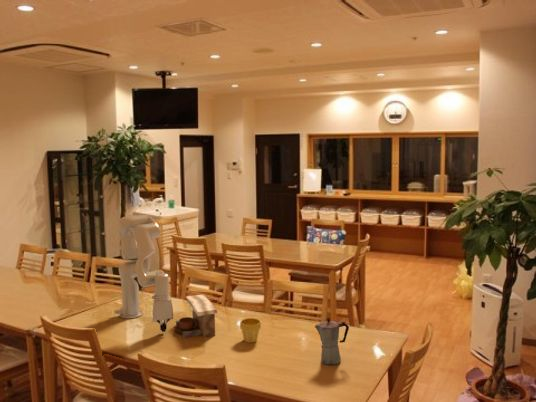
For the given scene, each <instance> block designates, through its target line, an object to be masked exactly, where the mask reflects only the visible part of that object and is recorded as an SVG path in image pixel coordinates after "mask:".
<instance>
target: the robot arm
mask: <svg viewBox="0 0 536 402" xmlns="http://www.w3.org/2000/svg"><path fill="white" fill-rule="evenodd" d="M117 222H118V224H117V226H118V231H119V235H120V251H121V252H120V255H121V257H122V259H123V260H125V262H123V263H120V265H119V267H118V273H119V279H120V283H121V303H122V304H121V305H122V306H121V308H120V309H115V310H114V309H113V310H114V311H113V312H114V314H116V315H118V314H119V316H120V318H122V319H127V320H128V319H129V320H130V319H136V318H139V317H142V316H143V311H142V310H140V291H139V289H140V288H139V286H140V287H143V288H146V287H151V286H153V288H154V294H153V295H151V299H152V300H153V299H154V300H153V303H152V322H153V323H158V324H159V327H160V328H159V329H160V331H161V332H162V333H166V332H167V331H166V330H167V327H168V326H167V324H168V322H169V321H171V320H174V307H173V301H172V298H171V296H170V278H169V274H168V273H166V272H164V271H163V270H162V269H155V270H151V271H150V268H151V265H150V264H151V261H150V257H151V256H152V255H153V254H154V253H155V252H156V248H155V244H154V241H153V239H157V238H160V236H161V233H162V232H161V231H162V230H161V228H160V226H159V224H158V222H156V220H154V218H153V217H151V215H149V214H145V213H144V214H135V215H127V216H123V217H121V218H120V219H118V221H117ZM130 260H131V261H130ZM135 278H136V280H137V281H136V280H135Z"/></svg>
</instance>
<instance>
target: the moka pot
mask: <svg viewBox="0 0 536 402" xmlns="http://www.w3.org/2000/svg"><path fill="white" fill-rule="evenodd" d="M342 327H345V331H344V334H343V338H342V340H339V337H340V336H339V335H340V334H339V333H340V328H342ZM314 328H315V329H316V330H317V332H318V334H319V338H320V342H321V355H320V357H321V359H320V362H321V363H323V364H324V365H326V366H327V365H329V366H333V365H337V364H340V363H341V360H342V358H341V353H340V349H339V342H340V344H341V343H342V344H343V343H345V342H346V339H347V336H348V332H349V329H350V327H349V325H348V324H347V322H345V321H342V322H336V321H333V320H332V321H331V319H330V318H326V321H321V322H319V323H318V324H315V326H314Z"/></svg>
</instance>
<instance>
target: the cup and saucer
mask: <svg viewBox="0 0 536 402" xmlns="http://www.w3.org/2000/svg"><path fill="white" fill-rule="evenodd" d="M193 321H196V324H197V323H198V321H197V320H193V317H189V316H187V317H181V318H180V319H179V324H180V325H178V326H176V325H175V327H174V329H175V331H176V332H178V333H180V334H182V332H186V331H193V330H198V326H197V325H196V324H193Z"/></svg>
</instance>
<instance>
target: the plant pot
mask: <svg viewBox="0 0 536 402" xmlns="http://www.w3.org/2000/svg"><path fill="white" fill-rule="evenodd" d="M261 322H262V321H261V320H260V319H258V318H255V317H248V318H243V319H242V320H240V322H239V325H240V326H239V327H240V330H241V334H242V336H243V337H242V338H243V341H244V342H245V343H249V344H250V343H251V344H252V343H256V342H257V341H258V337H259V333H260V329H262V328H261V327H262V326H261V325H262V323H261Z"/></svg>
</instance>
